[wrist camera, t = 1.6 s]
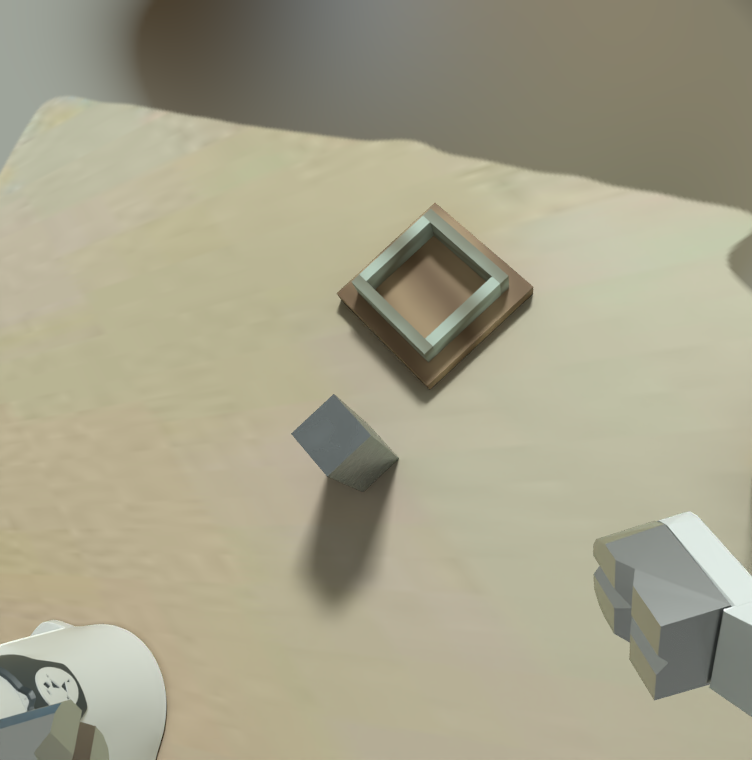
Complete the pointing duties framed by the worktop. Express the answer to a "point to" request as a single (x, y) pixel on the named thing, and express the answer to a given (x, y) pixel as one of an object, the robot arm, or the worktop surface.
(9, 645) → the robot arm
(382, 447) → the graphite post
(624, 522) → the worktop surface
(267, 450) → the worktop surface
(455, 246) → the stand
